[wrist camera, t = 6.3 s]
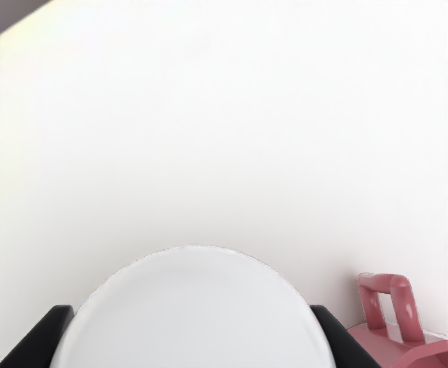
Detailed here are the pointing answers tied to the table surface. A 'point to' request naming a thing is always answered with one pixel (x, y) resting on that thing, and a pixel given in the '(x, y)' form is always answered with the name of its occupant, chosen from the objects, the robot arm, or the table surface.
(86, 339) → the lightbulb
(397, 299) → the mug
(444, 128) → the table surface
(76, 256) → the table surface
